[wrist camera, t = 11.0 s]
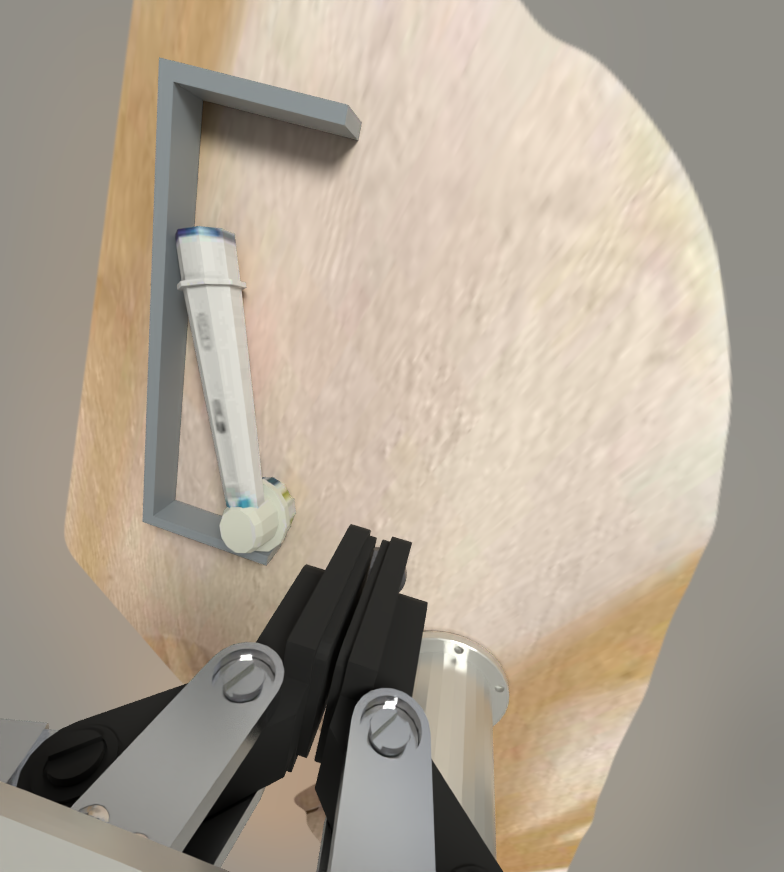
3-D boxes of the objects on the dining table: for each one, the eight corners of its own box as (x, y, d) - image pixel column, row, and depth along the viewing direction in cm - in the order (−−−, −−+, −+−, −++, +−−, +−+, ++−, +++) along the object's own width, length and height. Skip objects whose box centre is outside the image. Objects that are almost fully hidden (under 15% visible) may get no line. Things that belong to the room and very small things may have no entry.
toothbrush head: (220, 221, 28) (266, 577, 33) (269, 244, 34) (302, 538, 39) (149, 231, 29) (205, 573, 34) (210, 251, 35) (249, 536, 40)
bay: (280, 545, 40) (266, 565, 38) (165, 505, 41) (142, 521, 39) (361, 122, 27) (348, 105, 25) (190, 78, 28) (159, 57, 26)
